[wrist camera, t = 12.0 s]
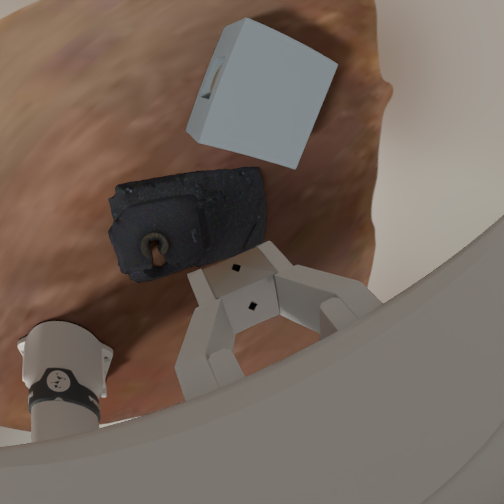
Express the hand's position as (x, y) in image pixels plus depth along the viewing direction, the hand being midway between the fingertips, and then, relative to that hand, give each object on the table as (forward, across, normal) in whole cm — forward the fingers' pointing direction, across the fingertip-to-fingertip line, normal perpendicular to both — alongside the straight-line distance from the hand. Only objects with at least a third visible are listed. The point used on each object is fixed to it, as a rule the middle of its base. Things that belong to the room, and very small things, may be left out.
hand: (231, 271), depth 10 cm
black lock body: (+29, -1, +14) cm, 32 cm away
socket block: (+28, -13, -2) cm, 31 cm away
